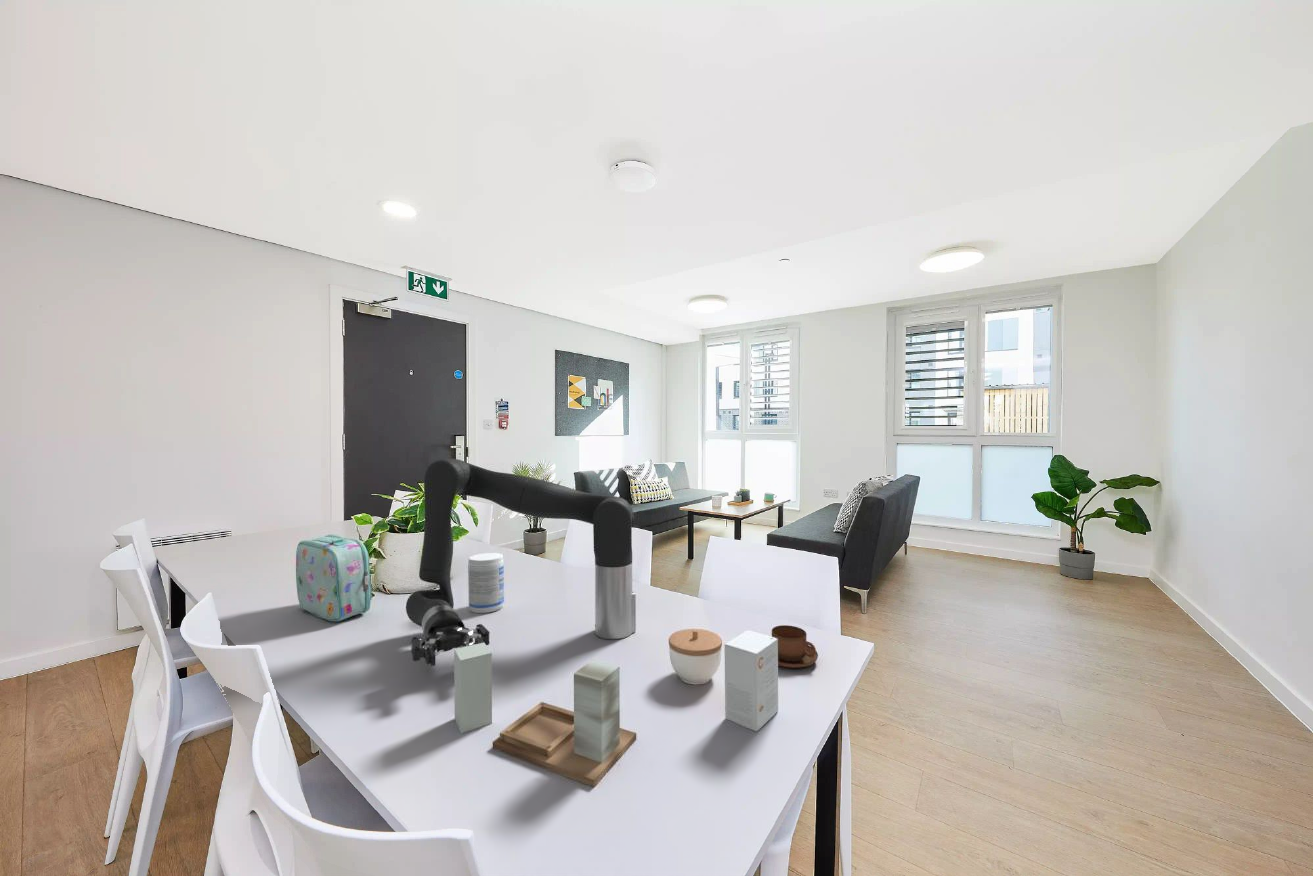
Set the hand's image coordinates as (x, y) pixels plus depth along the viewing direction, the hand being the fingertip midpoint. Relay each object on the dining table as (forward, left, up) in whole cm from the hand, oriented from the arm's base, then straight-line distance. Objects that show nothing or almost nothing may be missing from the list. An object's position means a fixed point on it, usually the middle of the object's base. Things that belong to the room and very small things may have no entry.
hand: (458, 655), depth 93 cm
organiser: (-11, +26, -7) cm, 29 cm away
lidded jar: (-41, +20, -7) cm, 47 cm away
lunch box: (+20, -64, -7) cm, 67 cm away
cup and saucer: (-63, +25, -7) cm, 68 cm away
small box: (-41, +36, -7) cm, 55 cm away
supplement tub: (-16, -44, -7) cm, 47 cm away
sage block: (0, +11, -7) cm, 13 cm away
